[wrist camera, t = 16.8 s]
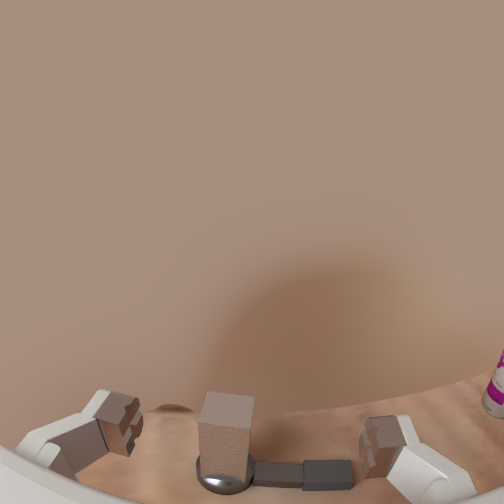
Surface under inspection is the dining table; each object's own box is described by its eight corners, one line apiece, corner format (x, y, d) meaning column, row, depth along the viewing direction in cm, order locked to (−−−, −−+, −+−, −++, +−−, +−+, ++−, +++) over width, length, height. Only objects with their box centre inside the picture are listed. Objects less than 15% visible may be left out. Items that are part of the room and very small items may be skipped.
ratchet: (191, 489, 29) (188, 460, 28) (202, 450, 36) (201, 418, 35) (351, 499, 28) (367, 470, 27) (344, 459, 35) (357, 428, 33)
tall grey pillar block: (248, 453, 34) (254, 396, 32) (244, 482, 30) (250, 428, 27) (208, 447, 35) (207, 390, 32) (201, 477, 30) (197, 421, 27)
